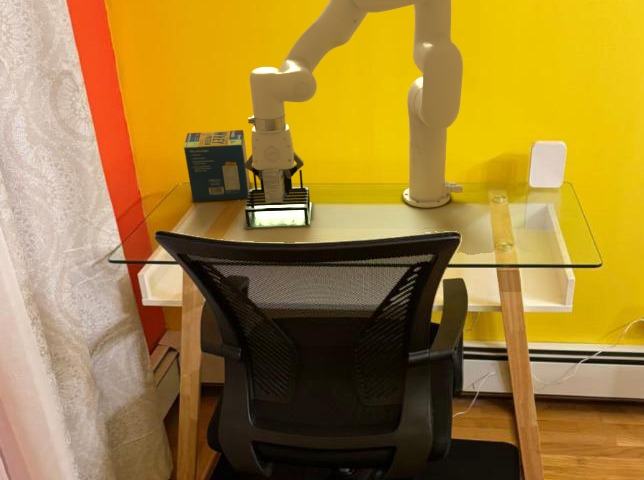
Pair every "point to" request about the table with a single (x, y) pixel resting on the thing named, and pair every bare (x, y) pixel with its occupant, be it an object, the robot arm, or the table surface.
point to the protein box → (217, 165)
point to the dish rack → (278, 209)
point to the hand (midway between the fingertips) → (277, 191)
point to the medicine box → (274, 185)
